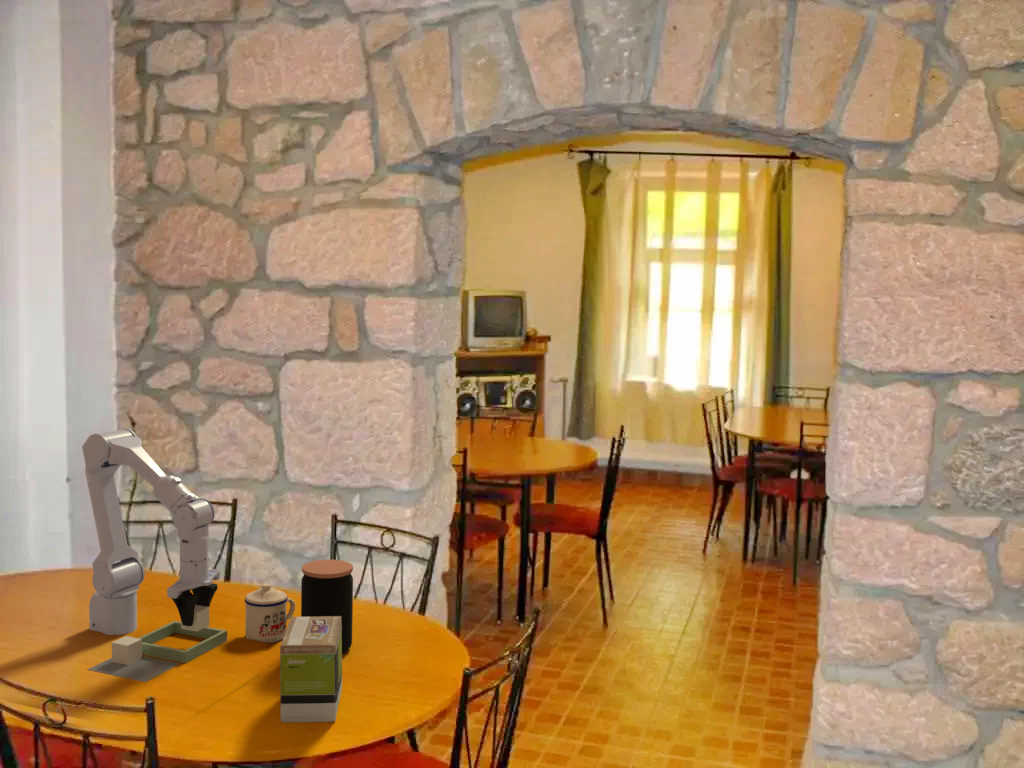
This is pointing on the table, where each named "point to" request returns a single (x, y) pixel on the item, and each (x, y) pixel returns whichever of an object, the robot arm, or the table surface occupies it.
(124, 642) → the stone cube near
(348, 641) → the coffee jar
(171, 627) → the olive dish
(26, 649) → the table surface
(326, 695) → the tea box
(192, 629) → the stone cube far
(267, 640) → the teacup with lid
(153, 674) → the slate board
